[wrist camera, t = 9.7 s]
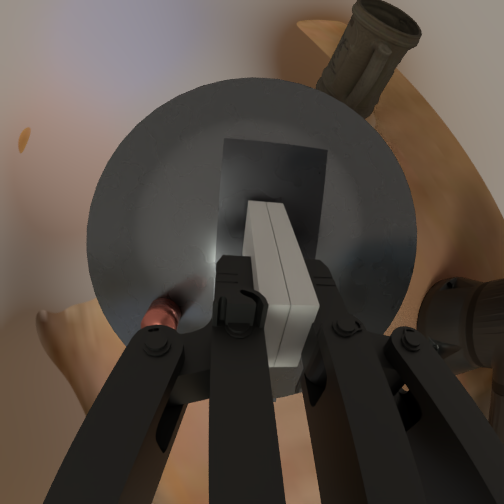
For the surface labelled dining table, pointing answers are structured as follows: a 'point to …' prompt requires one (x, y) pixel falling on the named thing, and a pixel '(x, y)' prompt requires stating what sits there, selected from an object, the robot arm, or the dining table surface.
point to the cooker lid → (236, 202)
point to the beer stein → (368, 54)
